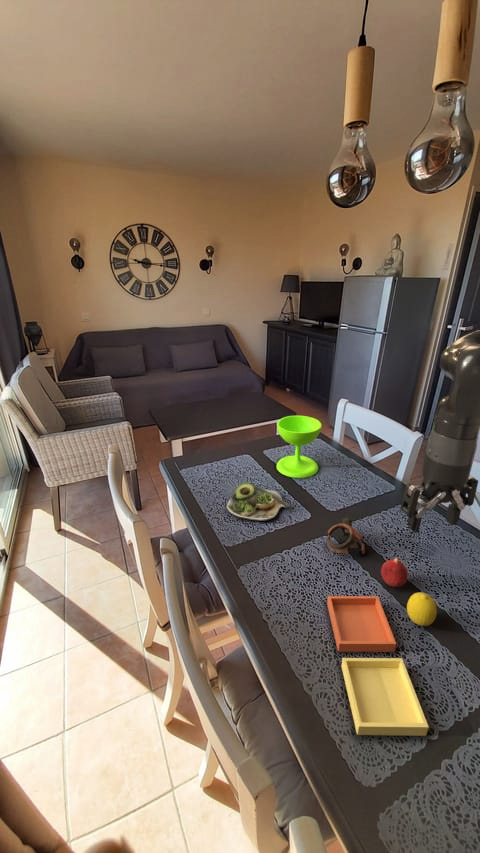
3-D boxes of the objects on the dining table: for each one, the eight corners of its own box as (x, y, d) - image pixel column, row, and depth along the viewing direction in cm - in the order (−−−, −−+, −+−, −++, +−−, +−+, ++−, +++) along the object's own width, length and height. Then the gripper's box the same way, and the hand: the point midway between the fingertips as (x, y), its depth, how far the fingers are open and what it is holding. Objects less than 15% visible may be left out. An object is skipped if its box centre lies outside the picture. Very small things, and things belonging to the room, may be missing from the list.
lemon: (434, 637, 74) (441, 610, 71) (404, 629, 76) (411, 602, 73) (431, 615, 79) (438, 588, 76) (403, 608, 81) (409, 581, 78)
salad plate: (295, 496, 121) (295, 484, 119) (281, 529, 106) (281, 517, 104) (241, 485, 127) (240, 474, 126) (221, 516, 112) (220, 504, 110)
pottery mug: (369, 564, 93) (357, 546, 90) (334, 569, 98) (321, 552, 94) (365, 525, 102) (354, 508, 99) (333, 531, 107) (322, 514, 103)
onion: (410, 591, 85) (416, 565, 82) (389, 597, 84) (394, 571, 80) (394, 572, 90) (399, 548, 87) (374, 578, 89) (378, 553, 85)
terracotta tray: (376, 604, 82) (377, 596, 81) (394, 652, 72) (396, 643, 71) (327, 603, 82) (327, 596, 81) (338, 652, 72) (339, 643, 71)
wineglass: (268, 470, 137) (268, 426, 129) (288, 453, 149) (289, 412, 141) (307, 482, 128) (309, 437, 121) (325, 463, 140) (328, 420, 133)
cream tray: (400, 666, 69) (402, 658, 68) (426, 735, 59) (428, 727, 58) (341, 666, 70) (342, 657, 69) (357, 735, 59) (358, 726, 58)
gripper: (429, 470, 60) (412, 545, 66) (500, 458, 63) (477, 532, 69) (401, 449, 67) (388, 520, 73) (466, 440, 69) (448, 509, 76)
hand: (432, 526), depth 71 cm, fingers open, 8 cm apart
